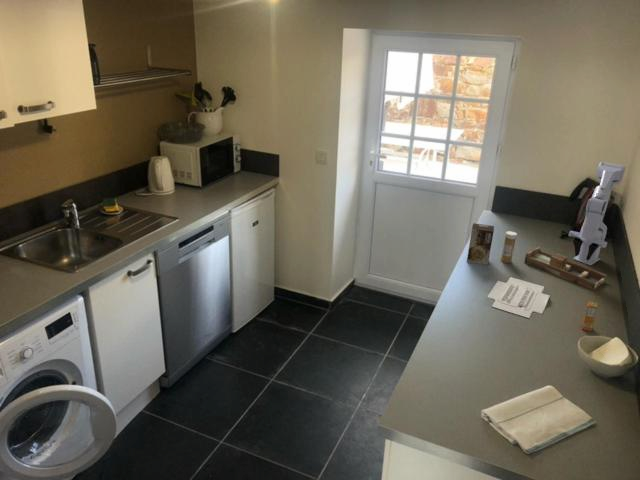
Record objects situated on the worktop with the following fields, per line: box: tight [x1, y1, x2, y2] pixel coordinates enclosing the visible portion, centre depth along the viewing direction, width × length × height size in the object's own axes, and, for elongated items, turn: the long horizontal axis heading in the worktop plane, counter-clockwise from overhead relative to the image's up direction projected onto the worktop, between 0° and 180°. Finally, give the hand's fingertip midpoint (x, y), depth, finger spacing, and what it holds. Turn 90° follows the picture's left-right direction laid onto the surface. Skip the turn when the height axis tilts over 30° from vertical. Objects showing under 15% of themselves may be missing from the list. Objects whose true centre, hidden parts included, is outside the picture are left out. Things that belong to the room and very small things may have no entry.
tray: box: [487, 277, 551, 319], centre depth 206 cm, size 20×28×4 cm
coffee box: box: [466, 223, 495, 266], centre depth 231 cm, size 9×6×16 cm
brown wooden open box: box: [523, 246, 607, 291], centre depth 226 cm, size 11×30×4 cm, turn 42°
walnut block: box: [549, 252, 569, 269], centre depth 227 cm, size 5×5×4 cm
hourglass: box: [581, 301, 598, 332], centre depth 186 cm, size 3×3×10 cm
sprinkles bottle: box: [500, 230, 518, 264], centre depth 232 cm, size 5×5×13 cm
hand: (582, 257), depth 219 cm, fingers open, 4 cm apart
